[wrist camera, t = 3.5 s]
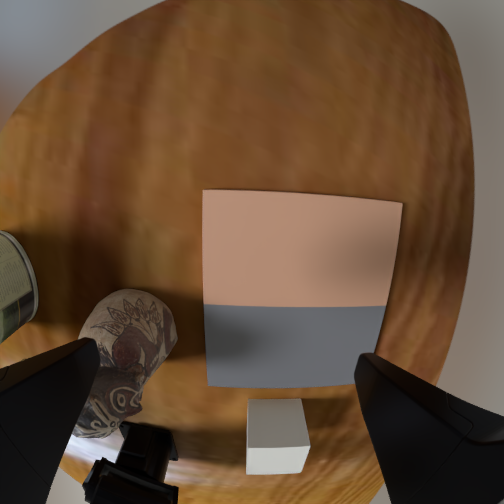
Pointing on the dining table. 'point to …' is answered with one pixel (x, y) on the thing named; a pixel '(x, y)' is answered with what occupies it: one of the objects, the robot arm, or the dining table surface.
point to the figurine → (124, 357)
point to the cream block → (276, 436)
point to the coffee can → (15, 286)
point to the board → (293, 285)
